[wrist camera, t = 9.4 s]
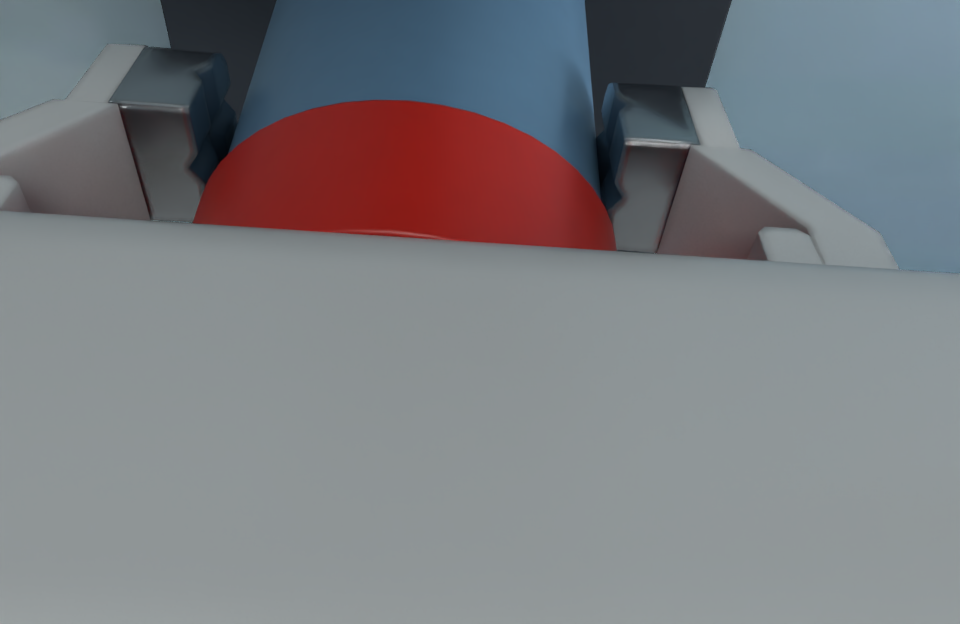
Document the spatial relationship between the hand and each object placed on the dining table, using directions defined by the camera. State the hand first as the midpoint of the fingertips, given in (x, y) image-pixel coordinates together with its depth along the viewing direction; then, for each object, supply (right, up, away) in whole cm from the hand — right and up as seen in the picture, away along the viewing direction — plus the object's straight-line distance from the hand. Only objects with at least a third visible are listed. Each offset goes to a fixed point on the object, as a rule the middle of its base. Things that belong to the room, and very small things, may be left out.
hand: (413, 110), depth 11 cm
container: (0, +5, +5) cm, 7 cm away
